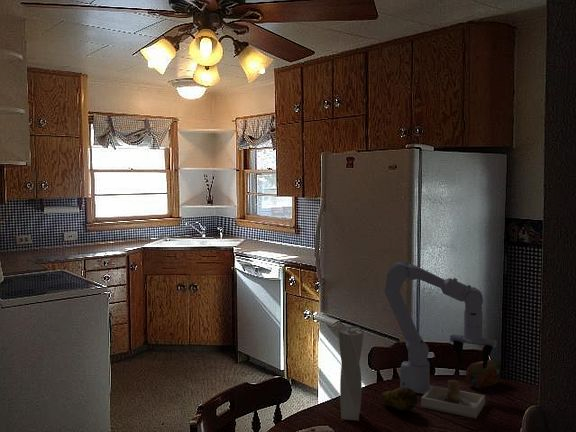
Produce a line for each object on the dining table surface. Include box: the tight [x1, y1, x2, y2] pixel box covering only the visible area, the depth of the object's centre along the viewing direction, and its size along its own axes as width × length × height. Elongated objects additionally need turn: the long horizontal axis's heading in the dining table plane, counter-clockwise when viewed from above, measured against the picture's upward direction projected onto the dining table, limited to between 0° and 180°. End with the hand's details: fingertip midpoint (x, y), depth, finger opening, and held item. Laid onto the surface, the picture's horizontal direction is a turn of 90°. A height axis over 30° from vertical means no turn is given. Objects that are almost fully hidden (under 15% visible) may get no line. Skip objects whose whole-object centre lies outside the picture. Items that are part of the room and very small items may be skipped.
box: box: [420, 385, 486, 420], centre depth 168 cm, size 17×13×3 cm
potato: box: [380, 387, 418, 411], centre depth 164 cm, size 8×13×8 cm, turn 13°
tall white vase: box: [338, 325, 364, 422], centre depth 160 cm, size 8×8×28 cm
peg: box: [447, 379, 461, 404], centre depth 168 cm, size 4×4×7 cm
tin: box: [465, 359, 502, 389], centre depth 187 cm, size 15×3×8 cm, turn 118°
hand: (472, 365), depth 177 cm, fingers open, 7 cm apart
